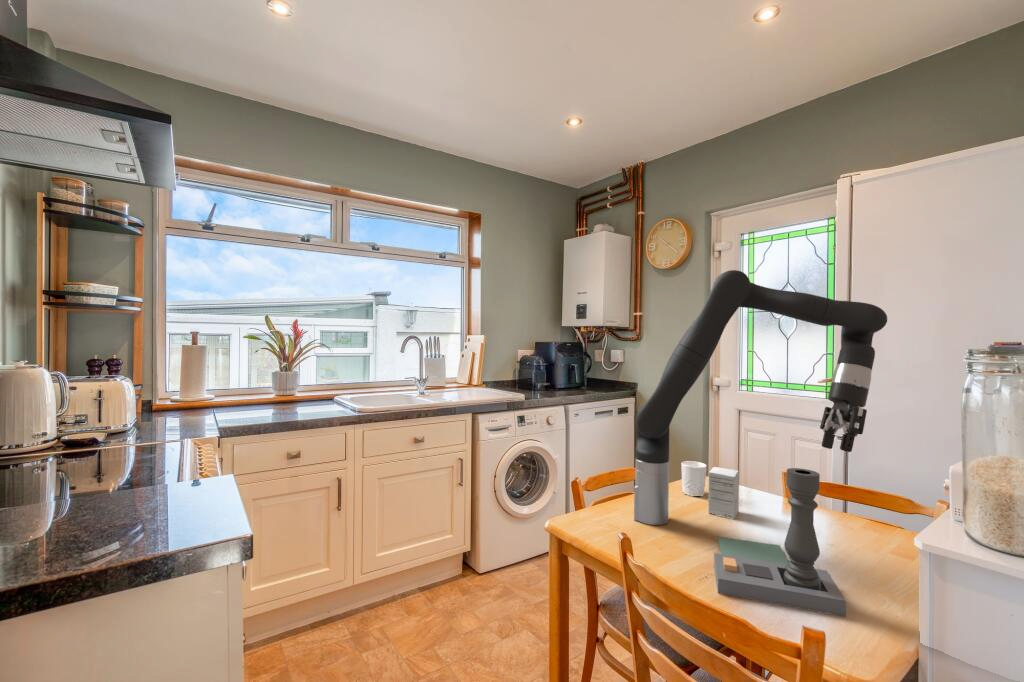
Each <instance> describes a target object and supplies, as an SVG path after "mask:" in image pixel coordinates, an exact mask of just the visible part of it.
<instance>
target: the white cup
mask: <svg viewBox="0 0 1024 682" xmlns="http://www.w3.org/2000/svg"><path fill="white" fill-rule="evenodd" d="M680 465H681V466H680V467H681V470H680V471H681V486H682V493H683V492H684V493H685V494H688V495H693V496H702V495H704V496H705V487H706V480H707V479H706V478H707V464H706V463H703V462H700V461H695V460H693V461H692V460H684V461H681V464H680ZM684 493H683V494H684ZM685 494H684V495H685ZM688 495H687V496H688ZM702 497H703V496H702Z"/></svg>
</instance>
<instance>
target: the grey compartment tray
mask: <svg viewBox="0 0 1024 682" xmlns="http://www.w3.org/2000/svg"><path fill="white" fill-rule="evenodd" d="M786 565H787V564H782V563H776V562H769V561H763V560H757V559H750V558H744V557H738V556H731V555H725V554H721V553H718V552H713V568H714V575H715V583H716V587H717V588H716V589H717V593H718V594H721V595H727V596H732V597H737V598H742V599H748V600H753V601H759V602H763V603H764V602H765V603H769V604H775V605H780V606H786V607H791V608H798V609H802V610H808V611H814V612H819V613H825V614H829V615H835V616H839V617H845V618H846V617H847V599H846V598H845V597H844V595H843V593H842V592H841V591H840V589H839V587H838V586H837V584H836V582H834V579H833V578H832V576H831V574H829V572H828V570H826V569H825V570H824V569H819V568H815V570H816V571H817V573H818V577H817V579H818V580H819V591H818V590H813V589H807V588H801V587H795V586H789V585H784V572H785V571H786V568H785V566H786Z"/></svg>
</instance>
